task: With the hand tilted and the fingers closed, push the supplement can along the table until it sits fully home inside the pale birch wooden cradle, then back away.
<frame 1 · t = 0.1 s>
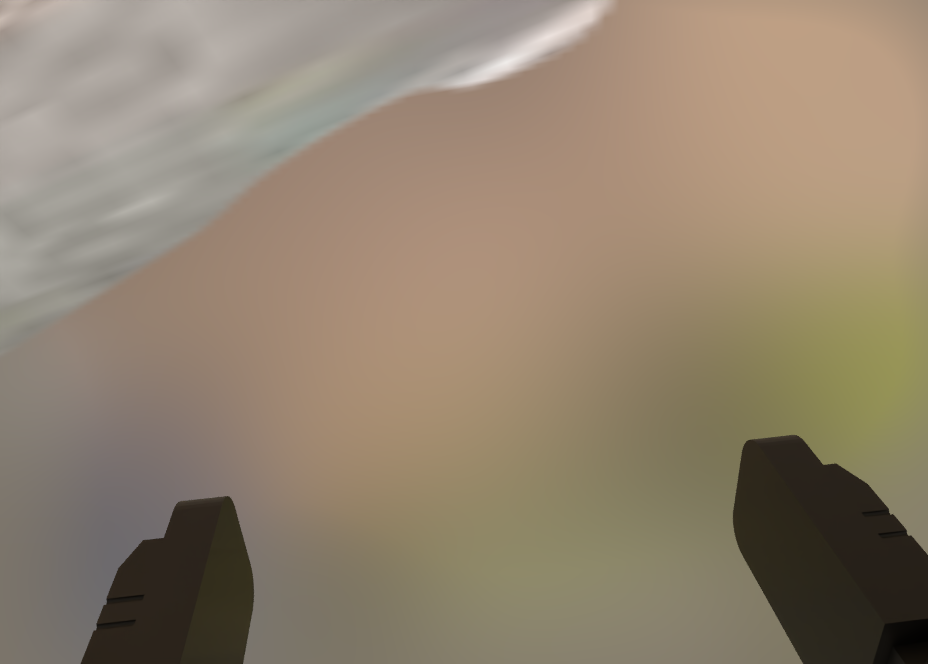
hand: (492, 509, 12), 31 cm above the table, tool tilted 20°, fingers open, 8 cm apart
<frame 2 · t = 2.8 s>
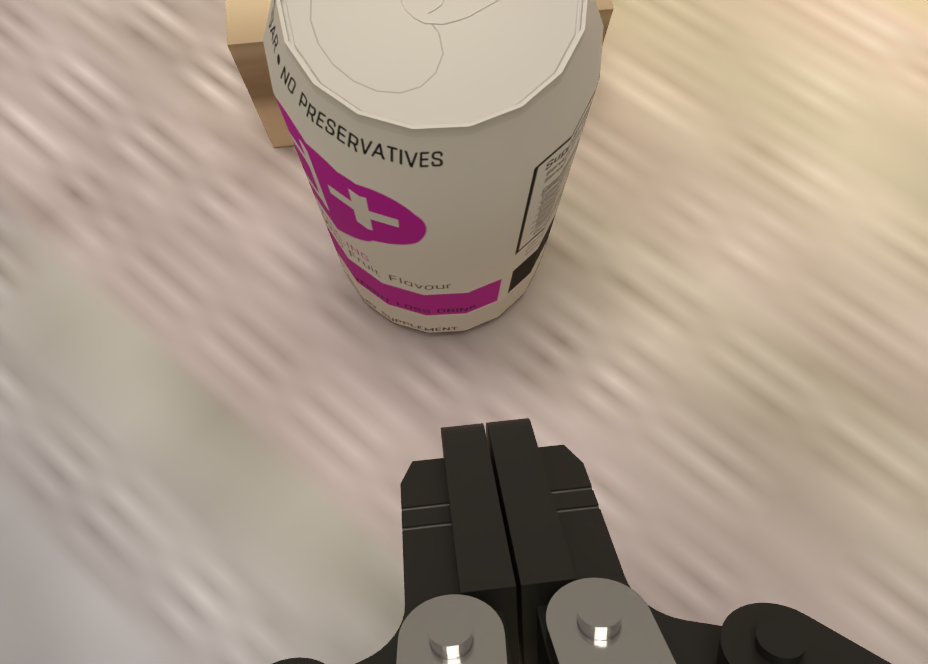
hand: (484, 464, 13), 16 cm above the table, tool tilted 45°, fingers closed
cradle: (416, 31, 34), on the table
supplement can: (441, 243, 32), on the table
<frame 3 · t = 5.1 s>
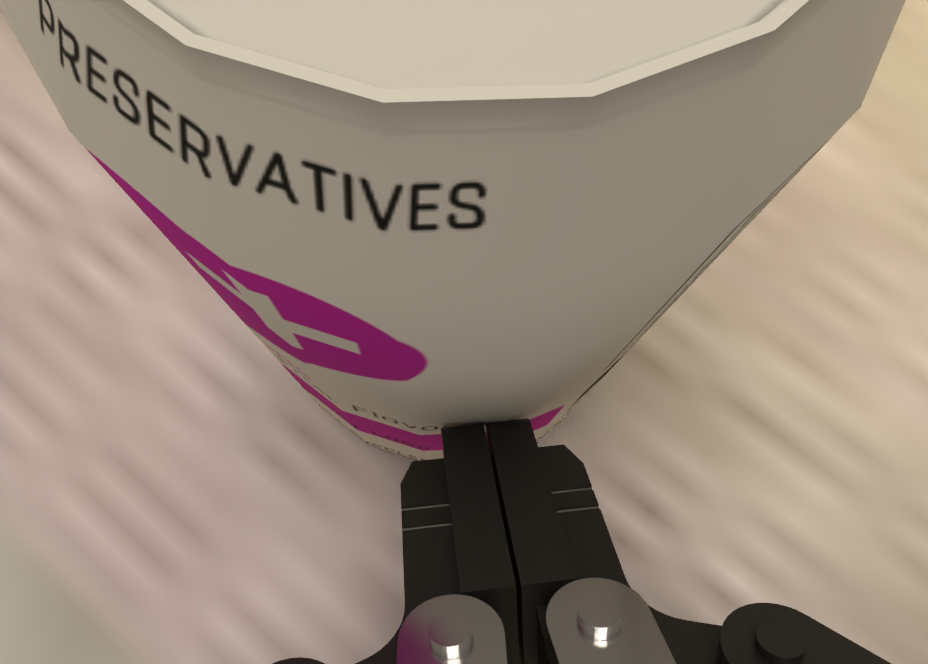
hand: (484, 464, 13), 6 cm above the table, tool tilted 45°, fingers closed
supplement can: (449, 308, 20), on the table, touching gripper
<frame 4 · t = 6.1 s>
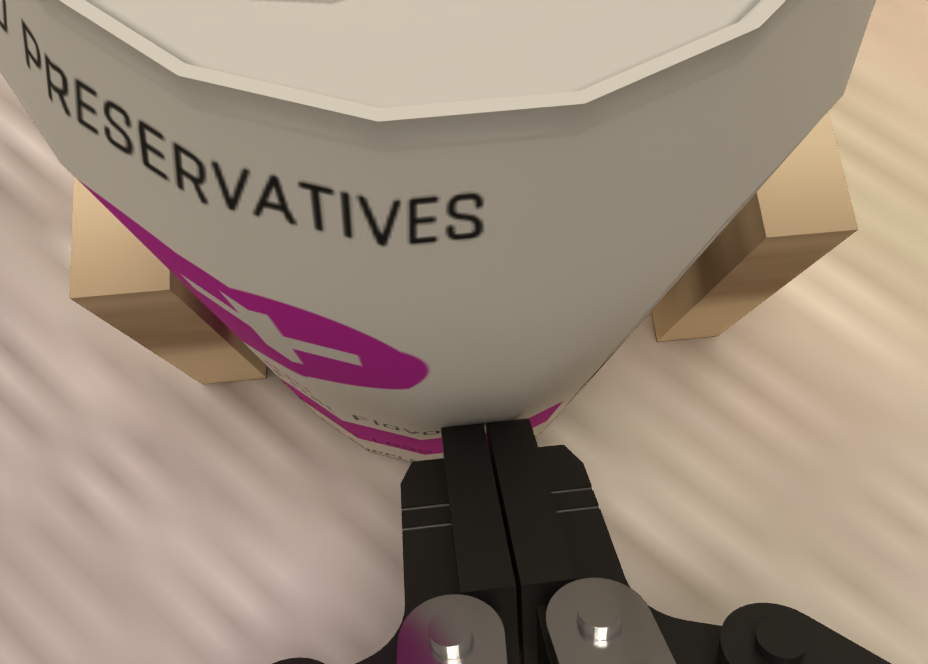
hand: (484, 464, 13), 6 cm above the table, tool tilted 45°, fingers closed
cradle: (445, 181, 21), on the table
supplement can: (440, 310, 20), on the table, touching gripper
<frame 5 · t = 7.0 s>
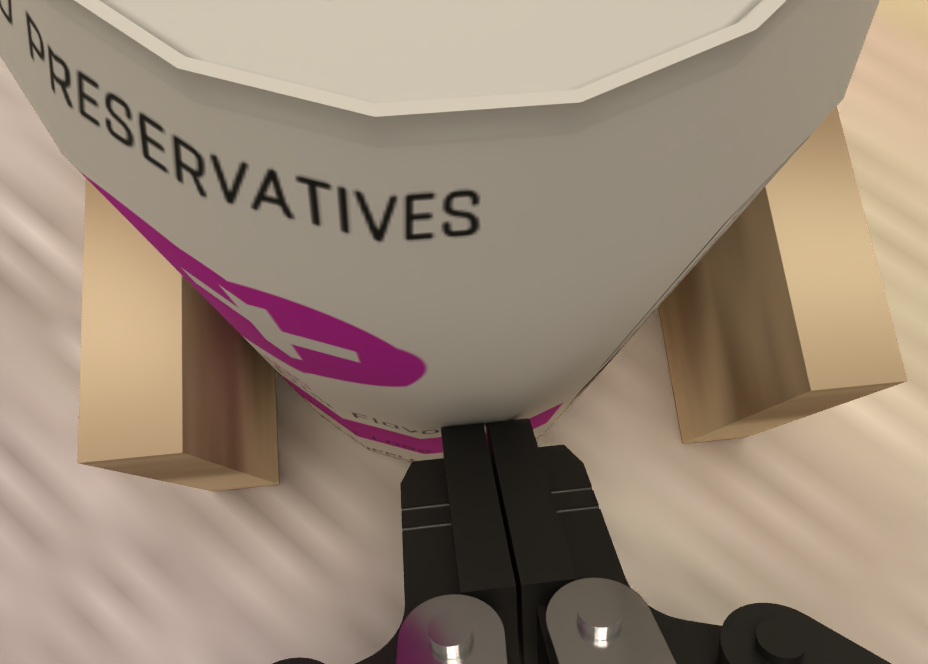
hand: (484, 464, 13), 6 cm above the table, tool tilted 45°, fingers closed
cradle: (462, 272, 20), on the table
supplement can: (443, 310, 20), on the table, touching gripper
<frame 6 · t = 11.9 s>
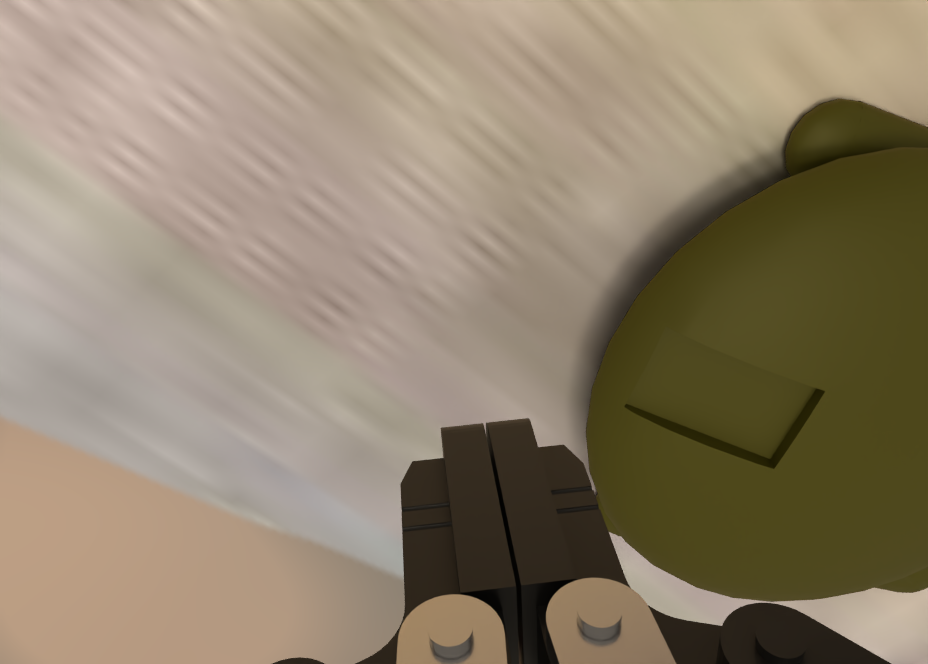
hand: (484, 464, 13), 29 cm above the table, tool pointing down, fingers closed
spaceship: (830, 369, 50), on the table
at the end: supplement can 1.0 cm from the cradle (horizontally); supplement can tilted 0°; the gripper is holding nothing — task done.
